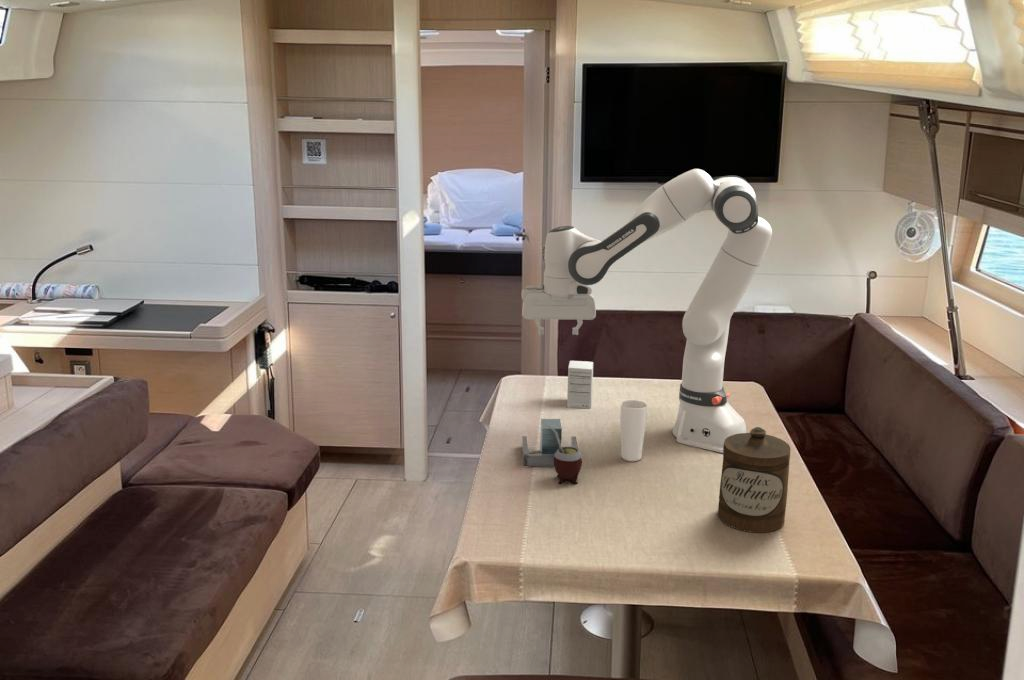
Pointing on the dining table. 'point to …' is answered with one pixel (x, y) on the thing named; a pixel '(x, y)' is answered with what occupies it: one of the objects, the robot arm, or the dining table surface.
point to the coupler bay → (541, 455)
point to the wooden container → (754, 481)
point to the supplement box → (580, 384)
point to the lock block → (550, 436)
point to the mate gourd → (566, 462)
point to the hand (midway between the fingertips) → (558, 334)
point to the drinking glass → (632, 429)
